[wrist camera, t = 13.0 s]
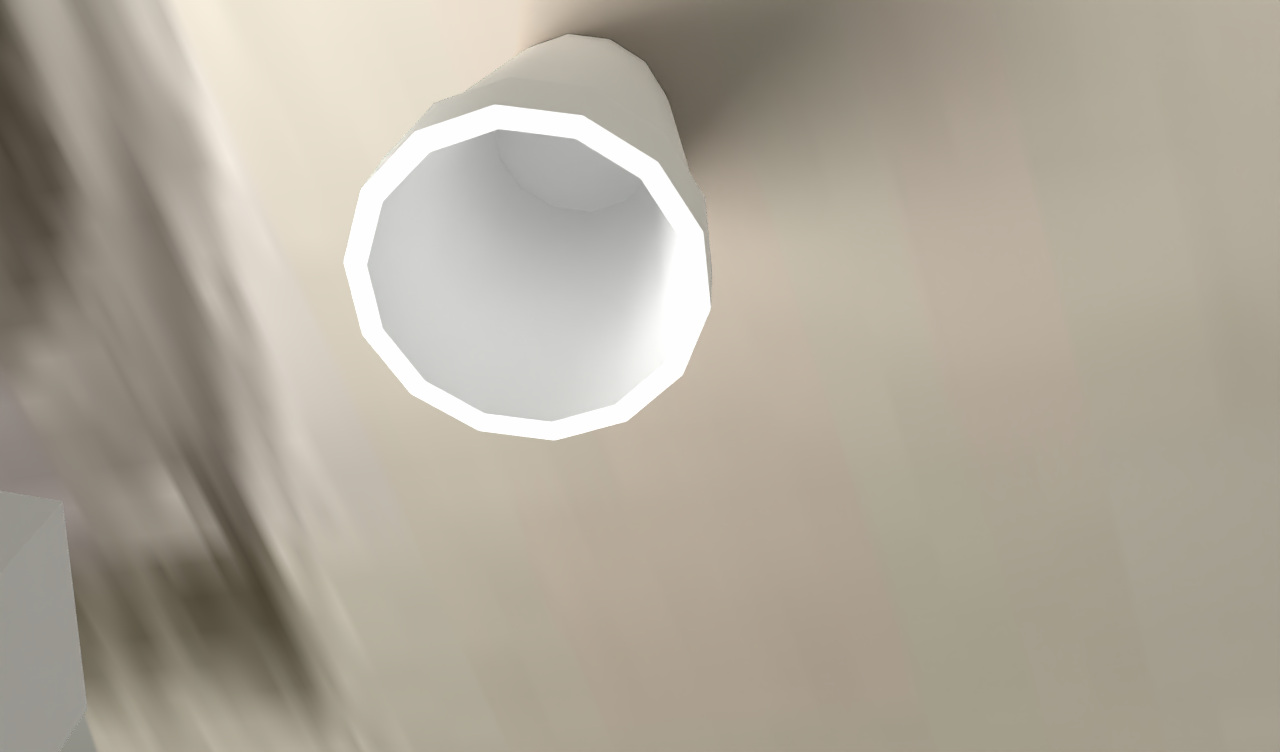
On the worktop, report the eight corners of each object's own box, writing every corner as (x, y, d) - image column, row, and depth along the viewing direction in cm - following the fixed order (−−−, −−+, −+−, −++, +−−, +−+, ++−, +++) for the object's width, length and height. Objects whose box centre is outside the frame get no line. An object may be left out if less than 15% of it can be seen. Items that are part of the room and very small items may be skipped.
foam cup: (394, 78, 42) (270, 223, 30) (618, -70, 39) (573, 29, 28) (549, 291, 45) (490, 490, 34) (764, 170, 42) (776, 345, 31)
